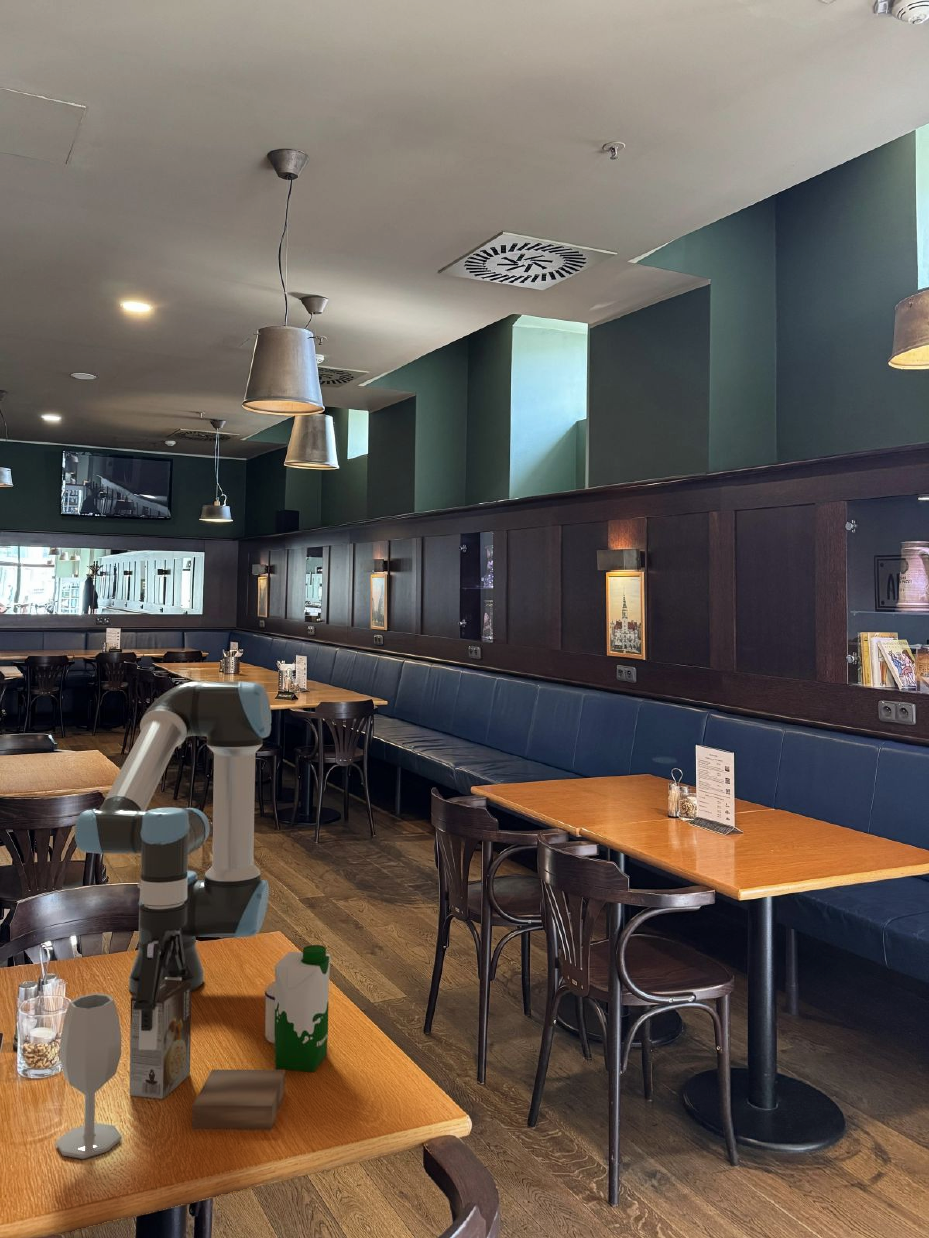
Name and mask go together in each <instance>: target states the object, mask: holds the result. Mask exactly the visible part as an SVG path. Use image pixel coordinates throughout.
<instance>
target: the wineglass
mask: <svg viewBox="0 0 929 1238" xmlns="http://www.w3.org/2000/svg"><path fill="white" fill-rule="evenodd" d="M59 1040H60V1041H59V1045H60V1047H59V1060H60V1065H61V1067H62V1071H63V1072H62V1073H63V1076H64V1079H65V1080H66V1081H67V1083H68V1084H69V1085H70V1086H71V1087H73V1088H74V1089H76V1090H77V1091H78V1092H80V1093H82V1094H83V1095H84V1118H83V1119H84V1120H83V1121H84V1125H81V1126H78V1127H75V1128H72V1129H70V1130H69V1131H67V1132H66V1133H65V1134H64V1135H62V1136H61V1137H60V1138H59V1139H57V1140H56V1141H55V1145H56V1147H57V1149H58V1150H59V1152H60V1153H61V1155H62V1156H63V1157H69V1158H74V1159H80V1160H85V1159H89V1158H92V1157H95V1156H97V1155H101V1154H104V1153H107V1152H109V1151H110V1150H111V1149H112V1148H113V1147H115V1146H117V1144H118V1143H119V1142H120V1141H122V1138H123V1137H122V1134H121V1133H120V1132H119V1130H118V1129H117V1128H116V1126H115V1125H113V1124H105V1123H100V1122H96V1121H95V1117H96V1116H95V1115H96V1113H95V1112H96V1111H95V1108H96V1105H95V1104H96V1103H95V1102H96V1100H95V1099H96V1097H95V1096H96V1093H97V1092H99V1090H100V1089H101V1088H103V1086H104V1085H106V1083H107V1082H109V1081H110V1080H111V1079H113V1077H114V1076H115V1075H116V1074H117V1070H118V1067H119V1065H120V1064H119V1063H120V1059H121V1056H122V1031H121V1025H120V1017H119V1011H118V1009H117V1006H116V1002H115V999H114V998H113V997H112V996H111V995H110V994H107V993H97V992H94V993H91V994H85V995H80V996H78V997H76V998H75V999H72V1000H71V1001H69V1003H68V1006H67V1009H66V1012H65V1015H64V1017H63V1023H62V1030H61V1034H60V1039H59Z"/></svg>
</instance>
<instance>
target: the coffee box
mask: <svg viewBox="0 0 929 1238" xmlns="http://www.w3.org/2000/svg"><path fill="white" fill-rule="evenodd" d="M136 996H137V994H134V995H133V996H131V997H130V1022H129V1023H130V1025H129V1027H130V1030H129V1033H130V1034H129V1035H130V1037H129V1039H130V1040H129V1095H130V1096H132V1097H133V1096H134V1097H139V1098H140V1097H141V1098H142V1097H143V1098H150V1099H158V1100H164V1099H166V1098H167V1096H169V1095H170V1094H171V1093H172V1091H174V1090H175V1089H176V1088H177V1087H178V1086H179V1085H180V1084H181V1083H182V1082H183V1081H185V1080H186V1079H187V1078H188V1077H190V1075H191V1040H192V1039H191V1038H192V1036H191V1035H192V1033H191V1032H192V1031H191V1030H192V1029H191V1026H192V1022H191V1021H192V1020H191V1019H192V1018H191V1017H192V1014H191V1013H192V991H191V981H181V980H167V979H161V984H160V989H159V993H158V998H157V1003H156V1007H158V1033H157V1049H156V1050H139V1013H140V1010H134V1004H135V1002H136ZM145 1001H147V1000H145Z"/></svg>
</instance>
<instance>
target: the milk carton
mask: <svg viewBox="0 0 929 1238" xmlns="http://www.w3.org/2000/svg"><path fill="white" fill-rule="evenodd" d="M331 958H332V957H331V953H330V954H329V953H327V947H326V946H324V945H319V944H311V945H307V946H304V947H303V948H302V952H300V951H299V952H297V951H288V953H287V954H285V955H284V956H283V957H282V958H281V959H280V960H279V961H278V962H277V963H275V964H274V982H275V1031H274V1041H275V1044H274V1068H275V1069H276V1070H287V1071H299V1072H308V1073H309V1072H310V1073H315V1072H316V1071H317V1069H318V1067H319V1065H320V1064H321V1063H322V1062H323V1061H324V1059H325V1057H327V1055H328V1054H327V1052H328V1051H327V1050H328V1036H329V1003H330V1002H329V1000H330V999H329V997H330V996H329V993H330V988H329V987H330V969H331Z"/></svg>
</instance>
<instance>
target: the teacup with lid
mask: <svg viewBox="0 0 929 1238" xmlns="http://www.w3.org/2000/svg"><path fill="white" fill-rule="evenodd" d="M264 995H265V1026H264V1027H265V1028H264V1029H265V1030H264V1031H265V1032H264V1034H265V1035H264V1036H265V1039H266V1040H267V1042H269V1043H271V1044H274V1045H275V1041H274V1031H275V981H273V982H271V983H268V985H266V988H265V990H264Z"/></svg>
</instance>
